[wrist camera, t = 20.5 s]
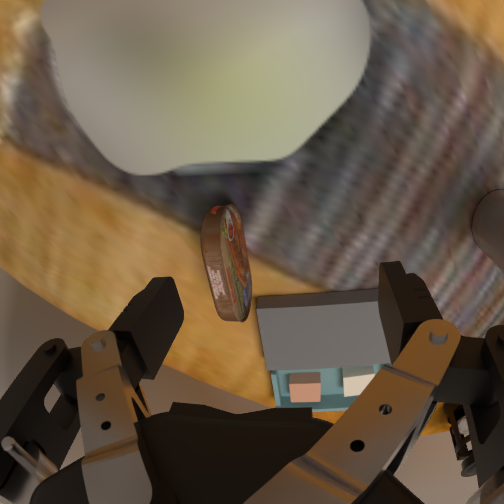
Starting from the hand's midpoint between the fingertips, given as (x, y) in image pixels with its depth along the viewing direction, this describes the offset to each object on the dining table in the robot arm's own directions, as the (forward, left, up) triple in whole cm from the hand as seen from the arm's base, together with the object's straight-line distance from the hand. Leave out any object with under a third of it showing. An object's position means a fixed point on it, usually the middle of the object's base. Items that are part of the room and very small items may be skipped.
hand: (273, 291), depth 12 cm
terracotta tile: (+1, +36, -27) cm, 45 cm away
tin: (+9, +11, -28) cm, 31 cm away
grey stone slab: (-3, +24, -28) cm, 37 cm away
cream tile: (-8, +35, -27) cm, 45 cm away
